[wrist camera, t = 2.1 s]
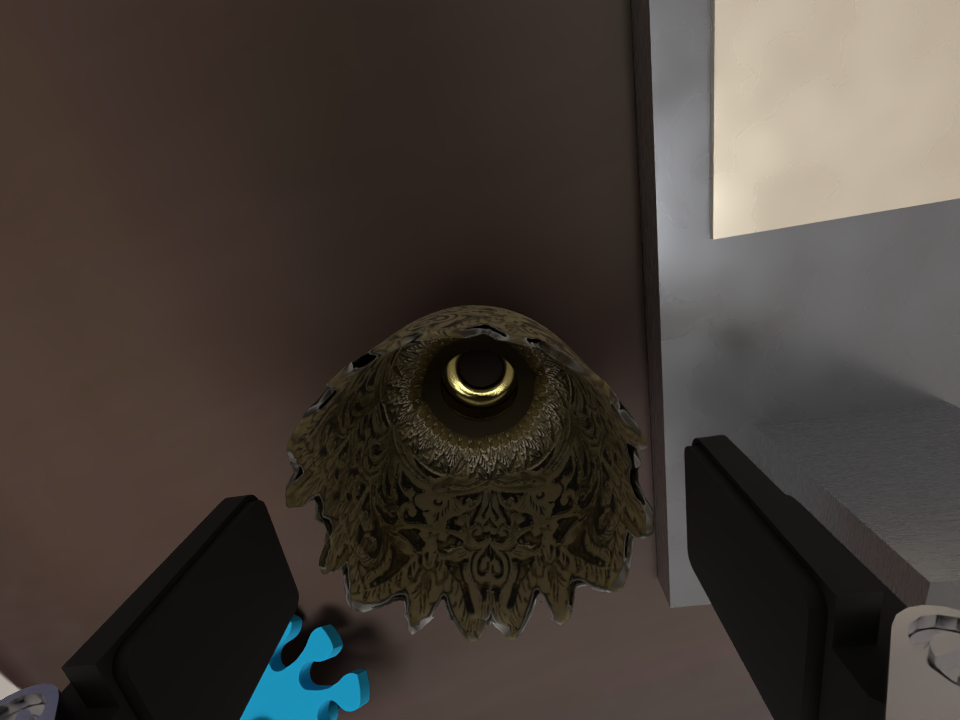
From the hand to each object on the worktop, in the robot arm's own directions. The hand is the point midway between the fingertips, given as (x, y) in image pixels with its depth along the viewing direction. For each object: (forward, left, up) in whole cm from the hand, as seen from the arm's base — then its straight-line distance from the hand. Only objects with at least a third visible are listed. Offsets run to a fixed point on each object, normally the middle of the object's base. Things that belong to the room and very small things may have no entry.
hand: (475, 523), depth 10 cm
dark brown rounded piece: (-1, 0, -8) cm, 8 cm away
